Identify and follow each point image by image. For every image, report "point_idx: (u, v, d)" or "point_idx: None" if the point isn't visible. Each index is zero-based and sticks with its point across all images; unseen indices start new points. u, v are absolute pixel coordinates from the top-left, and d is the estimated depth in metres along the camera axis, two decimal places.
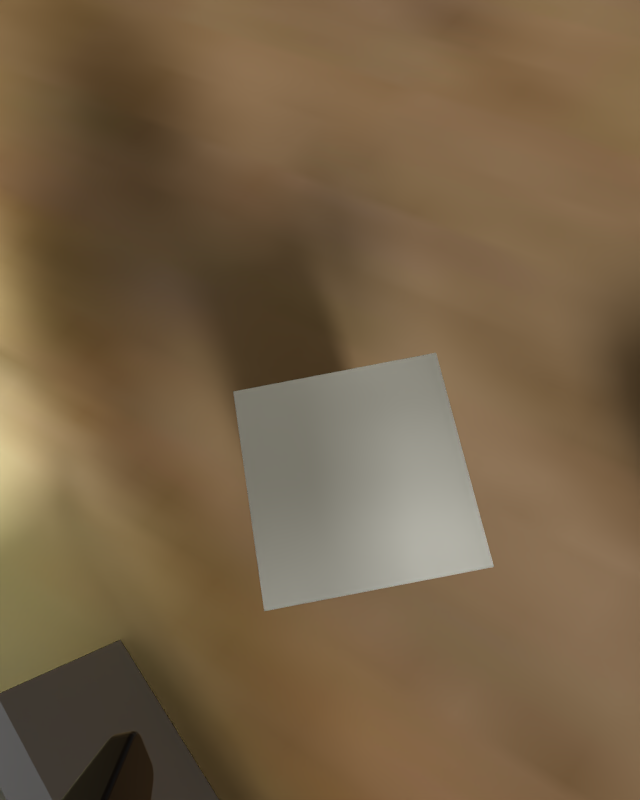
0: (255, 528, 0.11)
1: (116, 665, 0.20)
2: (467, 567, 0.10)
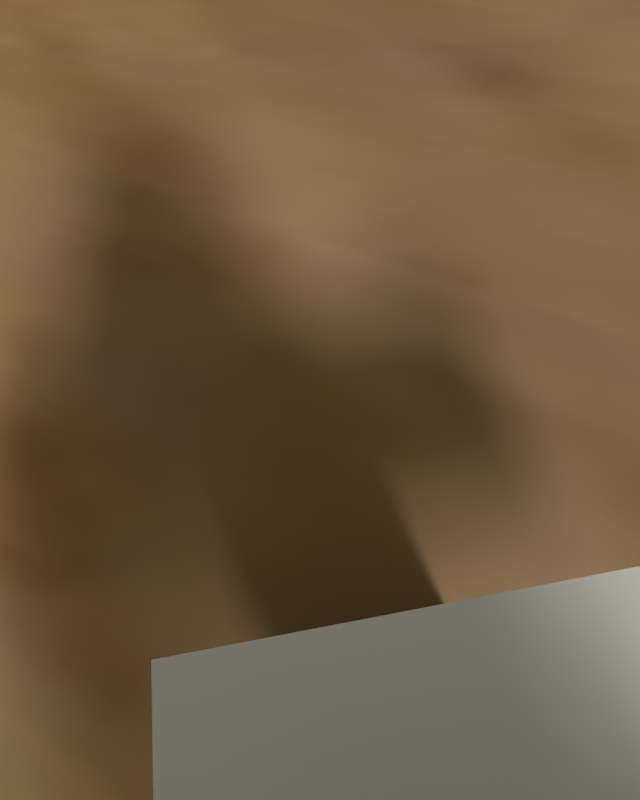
0: None
1: None
2: None
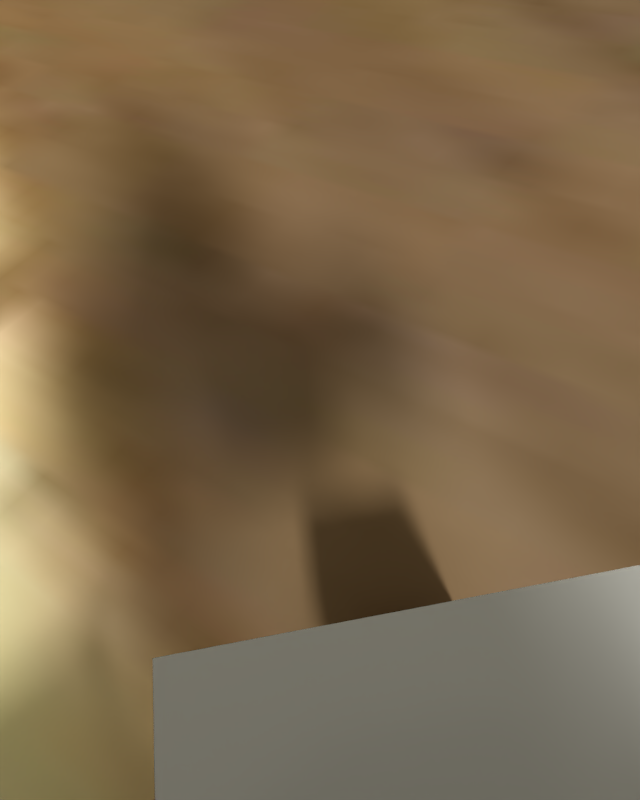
0: None
1: None
2: None
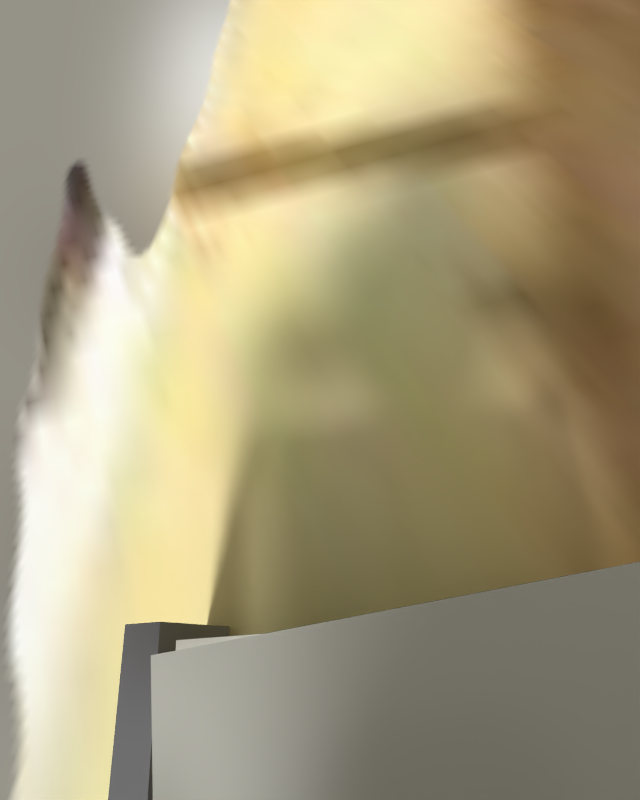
0: None
1: None
2: None
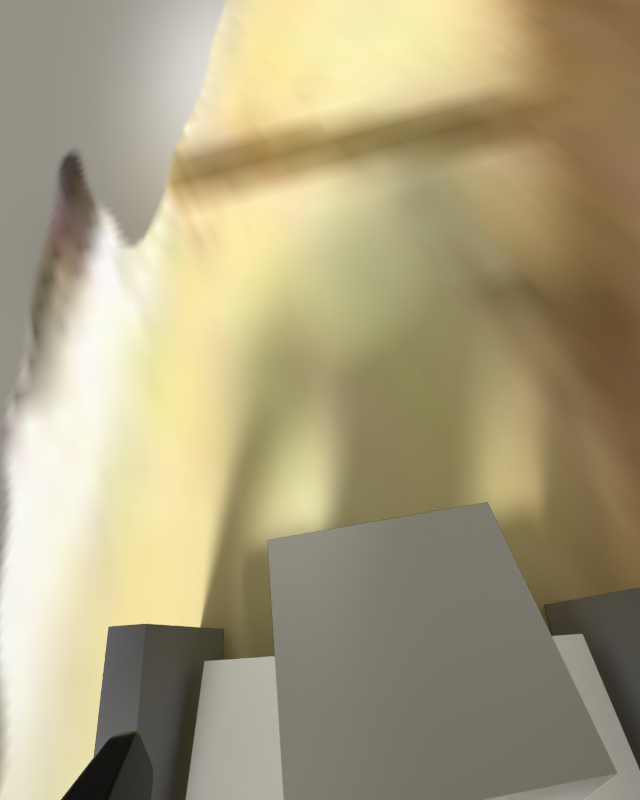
0: (281, 704, 0.08)
1: None
2: (578, 772, 0.07)
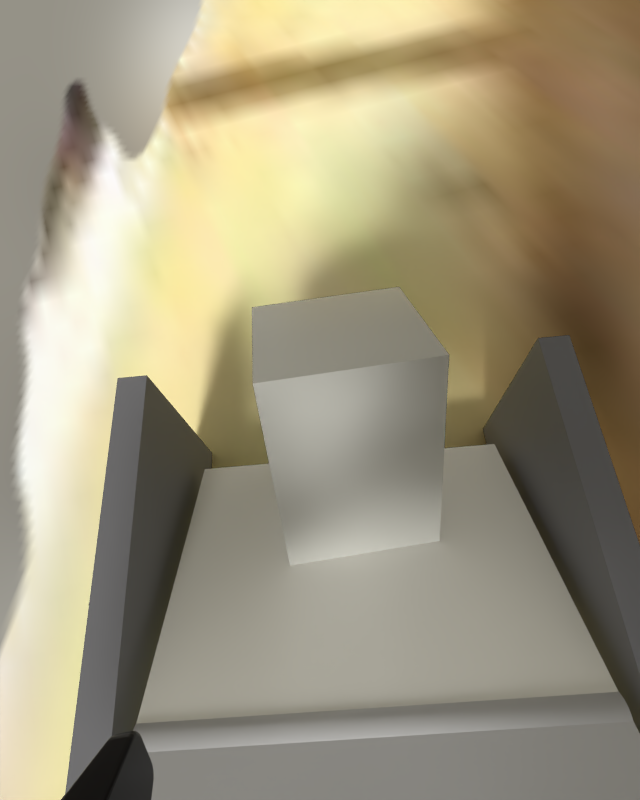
0: (254, 352, 0.14)
1: None
2: (426, 355, 0.12)
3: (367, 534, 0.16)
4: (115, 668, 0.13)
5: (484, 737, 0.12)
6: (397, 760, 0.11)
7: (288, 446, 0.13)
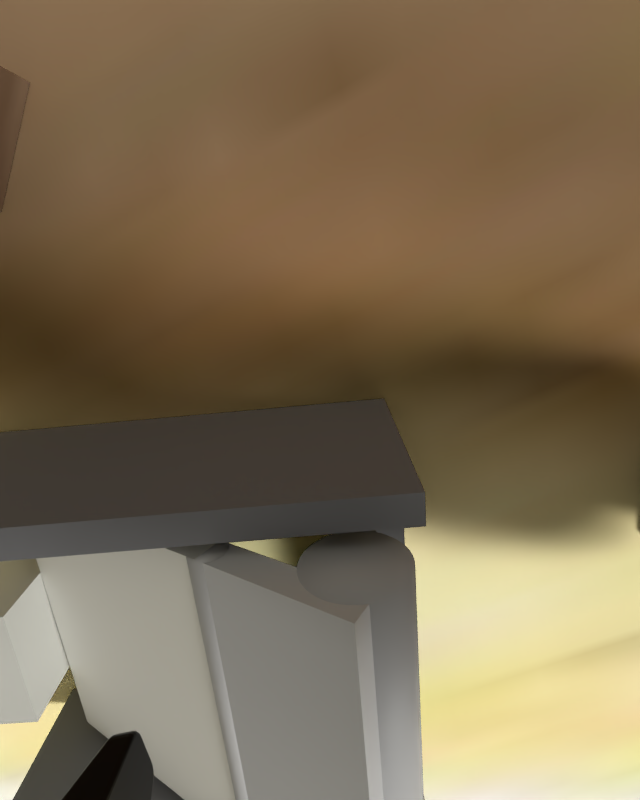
0: None
1: None
2: None
3: None
4: None
5: (226, 663, 0.14)
6: (244, 726, 0.15)
7: None
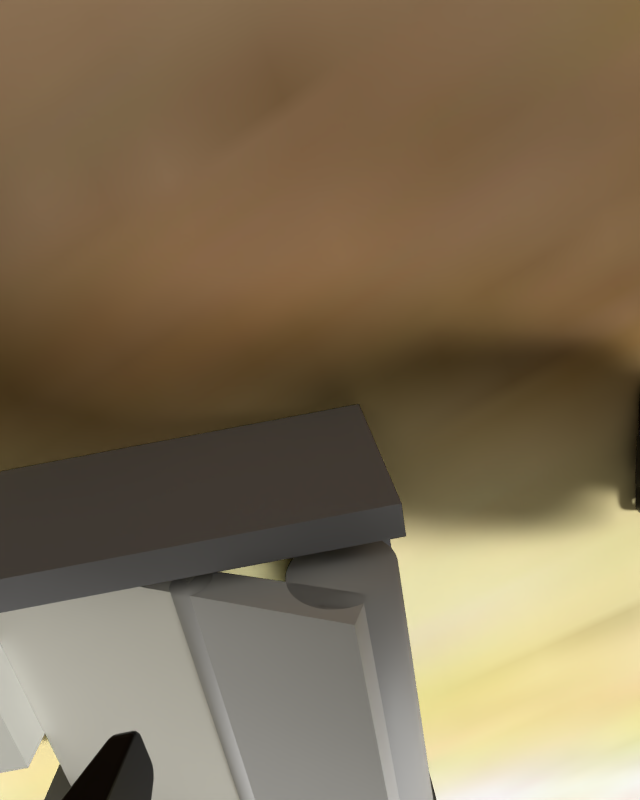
0: None
1: None
2: None
3: None
4: None
5: (225, 690, 0.14)
6: (250, 748, 0.15)
7: None
